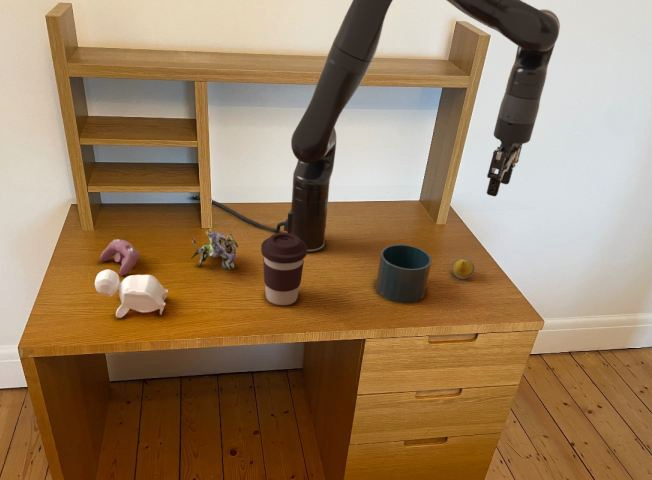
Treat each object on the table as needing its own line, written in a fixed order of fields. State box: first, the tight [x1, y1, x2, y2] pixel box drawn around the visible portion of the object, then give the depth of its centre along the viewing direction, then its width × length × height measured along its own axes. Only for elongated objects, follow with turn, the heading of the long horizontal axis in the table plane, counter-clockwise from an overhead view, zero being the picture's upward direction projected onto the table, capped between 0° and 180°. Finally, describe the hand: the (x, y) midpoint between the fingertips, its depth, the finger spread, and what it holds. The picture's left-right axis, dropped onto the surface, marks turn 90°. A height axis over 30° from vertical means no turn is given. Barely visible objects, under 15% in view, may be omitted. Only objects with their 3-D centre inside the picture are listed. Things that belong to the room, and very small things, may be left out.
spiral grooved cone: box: [451, 257, 475, 280], centre depth 144 cm, size 5×5×10 cm
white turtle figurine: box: [94, 268, 169, 319], centre depth 125 cm, size 8×8×15 cm
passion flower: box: [190, 227, 239, 272], centre depth 141 cm, size 11×11×12 cm
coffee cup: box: [260, 232, 308, 306], centre depth 130 cm, size 10×10×15 cm
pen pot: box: [375, 243, 432, 304], centre depth 137 cm, size 12×12×9 cm
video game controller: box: [99, 238, 140, 277], centre depth 140 cm, size 10×5×7 cm, turn 47°
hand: (497, 189), depth 130 cm, fingers open, 8 cm apart
